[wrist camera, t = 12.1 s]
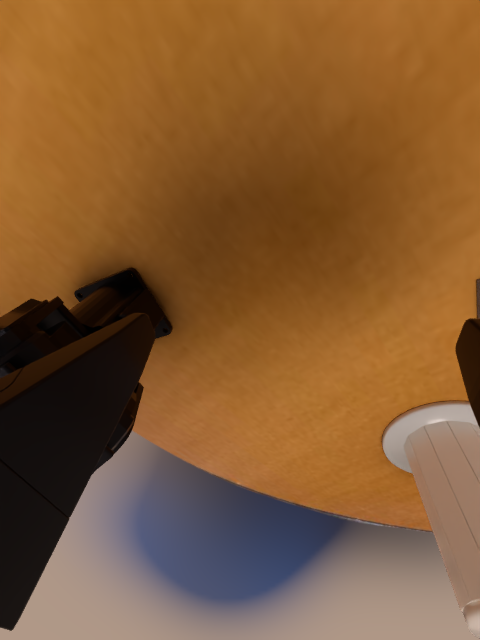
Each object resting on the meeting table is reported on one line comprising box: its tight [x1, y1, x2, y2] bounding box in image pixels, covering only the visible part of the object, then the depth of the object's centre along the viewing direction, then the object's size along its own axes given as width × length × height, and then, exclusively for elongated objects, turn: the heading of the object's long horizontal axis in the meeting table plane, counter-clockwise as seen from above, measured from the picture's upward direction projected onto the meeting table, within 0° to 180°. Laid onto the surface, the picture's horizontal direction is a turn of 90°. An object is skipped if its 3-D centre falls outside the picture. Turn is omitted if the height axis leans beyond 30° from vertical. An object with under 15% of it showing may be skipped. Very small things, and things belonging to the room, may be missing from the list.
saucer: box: [382, 401, 479, 473], centre depth 27 cm, size 11×11×3 cm
